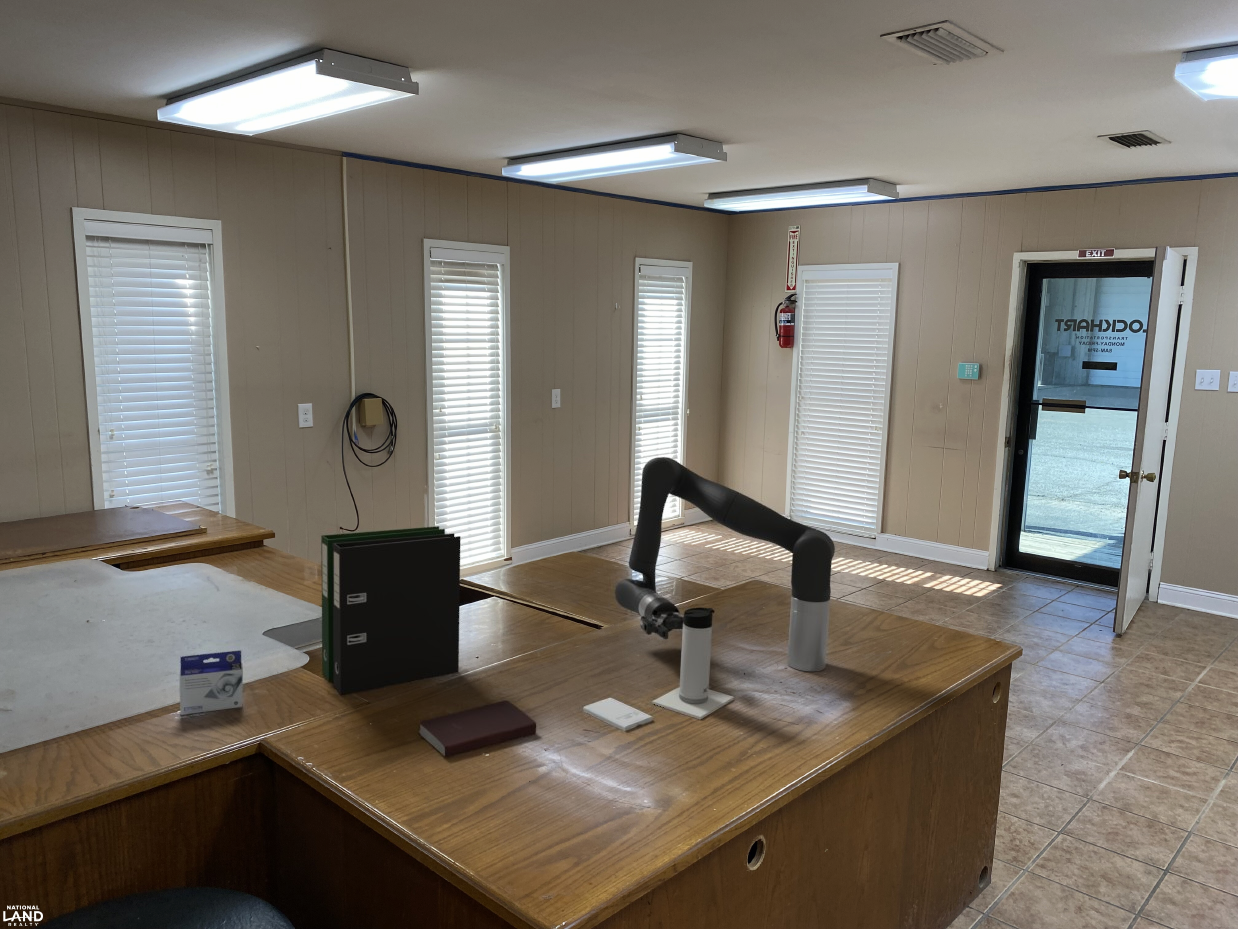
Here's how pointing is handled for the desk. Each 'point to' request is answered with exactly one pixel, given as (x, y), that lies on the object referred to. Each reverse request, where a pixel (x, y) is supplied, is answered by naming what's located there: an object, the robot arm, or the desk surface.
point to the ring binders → (389, 607)
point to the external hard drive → (617, 714)
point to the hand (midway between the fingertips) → (684, 633)
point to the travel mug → (696, 655)
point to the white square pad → (693, 710)
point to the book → (477, 728)
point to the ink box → (211, 682)
